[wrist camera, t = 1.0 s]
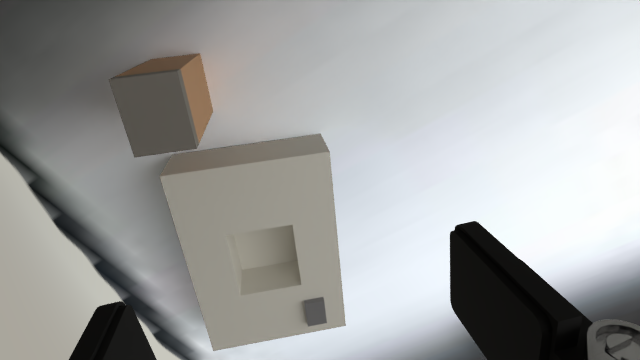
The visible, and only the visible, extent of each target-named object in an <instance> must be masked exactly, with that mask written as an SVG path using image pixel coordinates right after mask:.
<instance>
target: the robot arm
mask: <svg viewBox="0 0 640 360" xmlns="http://www.w3.org/2000/svg"><path fill="white" fill-rule="evenodd" d="M450 298H451V305H452V308H453V310H454V312H455V314H456V315H457V317H458V318H459V320H460V321H461V322H462V324H463V325H464V327H465V328H466V330H467V331H468V333H469V334H470V335H471V337H472V338H473V340H474V341H475V343H476V344H477V345H478V347H479V348H480V350H481V351H482V353H483V354H484V355H485V357H486V358H487V360H640V326H638V325H635V324H632V323H629V322H626V321H620V320H613V319H610V320H600V321H597V322H595V323H592V322H591V321H590V320H589V319H587V318H586V317H585V316H584V315H583V314H582V313H581V312H580V311H578V310H577V309H576V308H575V307H574V306H573V305H572V304H571V303H569V302H568V301H567V300H566V299H565V298H564V297H563V296H562V295H560V294H559V293H558V292H557V291H556V290H555V289H554V288H552V287H551V286H550V285H549V284H548V283H547V282H546V281H545V280H543V279H542V278H541V277H540V276H539V275H538V274H537V273H536V272H534V271H533V270H532V269H531V268H530V267H529V266H528V265H527V264H525V263H524V262H523V261H522V260H520V259H518V258H517V257H516V256H515V255H514V254H513V253H512V252H511V251H509V250H508V249H507V248H506V247H505V246H504V245H503V244H502V243H500V242H499V241H498V240H497V239H496V238H495V237H494V236H493V235H491V234H490V233H489V232H488V231H487V230H486V229H485V228H484V227H482V226H481V225H480V224H479V223H478V222H476V221H473V222H468V223H464V224H460V225H457V226H456V227H455V231H452V232H451V233H450ZM69 360H156V358H155V355H154V353H153V351H152V349H151V347H150V345H149V342H148V340H147V338H146V336H145V334H144V332H143V329H142V328H141V325H140V323H139V321H138V319H137V316H136V314H135V312H134V310H133V308H132V306H130V305H125V304H124V303H123V302H115V303H111V304H107V305H102V306H99V307H98V308H97V309H96V310H95V312H94V314H93V316H92V318H91V319H90V321H89V323H88V325H87V327H86V329H85V331H84V332H83V334H82V336H81V338H80V340H79V342H78V344H77V345H76V347H75V349H74V351H73V353H72V355H71V357H70V359H69Z"/></svg>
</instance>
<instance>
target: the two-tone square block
mask: <svg viewBox="0 0 640 360" xmlns="http://www.w3.org/2000/svg"><path fill="white" fill-rule="evenodd" d="M109 82H110V85H111V88H112V91H113V94H114V97H115V100H116V103H117V106H118V109H119V112H120V115H121V118H122V121H123V124H124V127H125V130H126V133H127V136H128V139H129V142H130V145H131V148H132V151H133V154H134V157H141V156H148V155H155V154H162V153H169V152H176V151H183V150H190V149H197V147H198V145H199V143H200V140H201V138H202V136H203V133H204V131H205V129H206V126H207V124H208V122H209V120H210V117H211V115H212V113H213V109H212V104H211V100H210V95H209V91H208V86H207V82H206V77H205V73H204V68H203V64H202V59H201V55H200V54H191V55H183V56H174V57H166V58H157V59H151V60H149V61H147V62H144V63H142V64H140V65H138V66H136V67H134V68H132V69H130V70H128V71H126V72H124V73H121V74H119V75H117V76H115V77H113V78H111V79H109Z"/></svg>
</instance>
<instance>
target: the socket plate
mask: <svg viewBox="0 0 640 360" xmlns="http://www.w3.org/2000/svg"><path fill="white" fill-rule="evenodd" d="M160 179H161V183H162V186H163V189H164V192H165V196H166V199H167V202H168V205H169V209H170V212H171V215H172V218H173V222H174V225H175V228H176V231H177V235H178V238H179V241H180V244H181V248H182V251H183V254H184V257H185V260H186V264H187V267H188V270H189V273H190V277H191V280H192V283H193V286H194V290H195V293H196V296H197V299H198V303H199V306H200V309H201V312H202V316H203V319H204V322H205V325H206V329H207V332H208V335H209V338H210V341H211V345H212V348H213V351H216V350H221V349H226V348H231V347H236V346H242V345H247V344H252V343H257V342H263V341H268V340H273V339H278V338H284V337H289V336H294V335H299V334H305V333H310V332H315V331H320V330H325V329H331V328H336V327H341V326H346V324H345V314H344V303H343V292H342V281H341V270H340V259H339V249H338V238H337V227H336V216H335V205H334V194H333V183H332V173H331V162H330V151H329V149H328V147H327V145H326V143H325V141H324V139H323V137H322V135H321V134H316V135H309V136H302V137H295V138H287V139H280V140H273V141H266V142H259V143H252V144H245V145H238V146H231V147H224V148H217V149H209V150H202V151H195V152H188V153H181V154H174V155H172V156H171V158H170V159H169V161H168V163H167V165H166V166H165V168H164V170H163V171H162V173H161V175H160Z"/></svg>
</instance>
